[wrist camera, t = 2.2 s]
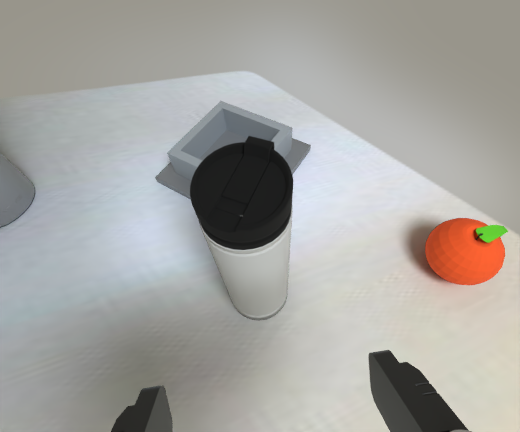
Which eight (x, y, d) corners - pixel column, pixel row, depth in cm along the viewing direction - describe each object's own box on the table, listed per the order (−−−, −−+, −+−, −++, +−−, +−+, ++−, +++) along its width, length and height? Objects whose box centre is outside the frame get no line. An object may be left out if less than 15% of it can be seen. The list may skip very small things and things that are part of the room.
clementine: (460, 227, 37) (495, 192, 31) (503, 278, 34) (551, 249, 28) (402, 248, 36) (427, 216, 30) (440, 303, 33) (477, 279, 27)
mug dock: (157, 181, 44) (144, 157, 40) (223, 116, 51) (217, 89, 47) (251, 231, 39) (248, 208, 35) (310, 150, 46) (313, 123, 41)
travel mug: (296, 274, 35) (310, 147, 19) (275, 330, 32) (270, 238, 15) (246, 256, 37) (218, 124, 20) (221, 307, 34) (164, 202, 17)
